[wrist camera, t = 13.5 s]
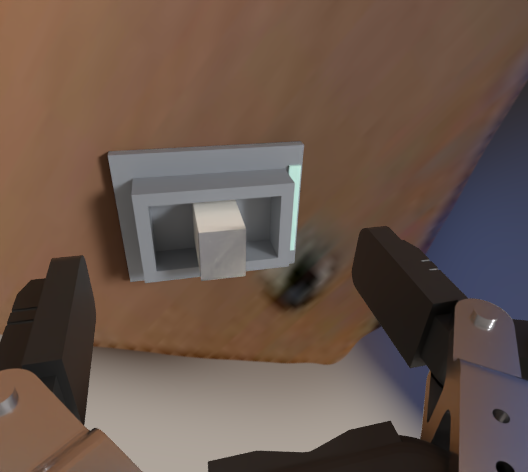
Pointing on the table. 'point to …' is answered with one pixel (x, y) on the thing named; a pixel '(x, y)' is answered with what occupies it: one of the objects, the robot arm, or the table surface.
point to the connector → (219, 239)
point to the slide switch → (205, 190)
